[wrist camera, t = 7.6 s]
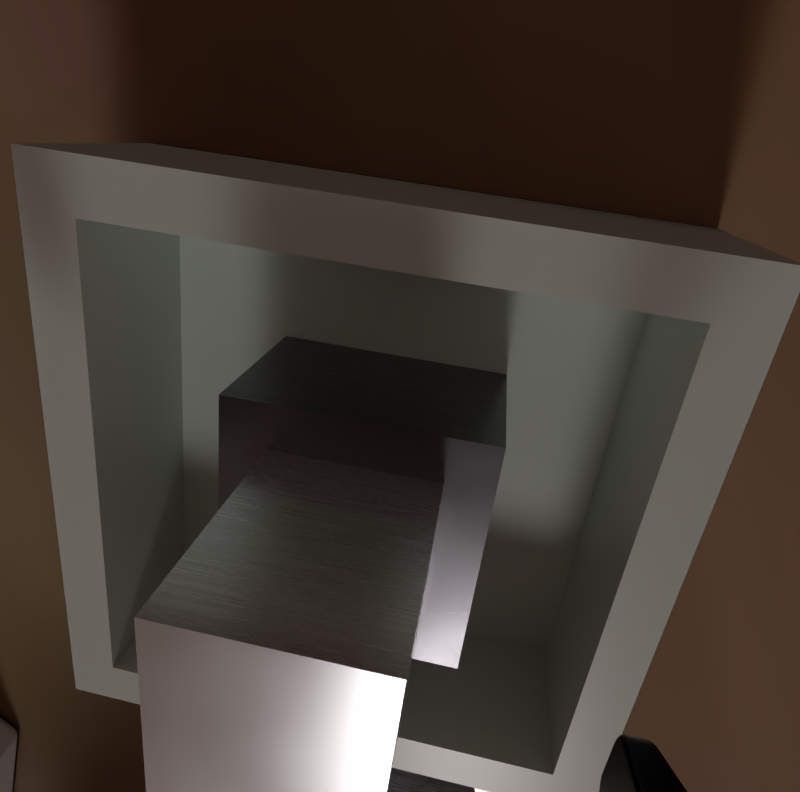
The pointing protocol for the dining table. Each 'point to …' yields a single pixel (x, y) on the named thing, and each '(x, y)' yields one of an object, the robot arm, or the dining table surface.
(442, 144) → the dining table surface
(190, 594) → the grey square peg
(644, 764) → the robot arm
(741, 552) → the dining table surface
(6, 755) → the jar
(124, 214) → the bin
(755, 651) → the dining table surface
